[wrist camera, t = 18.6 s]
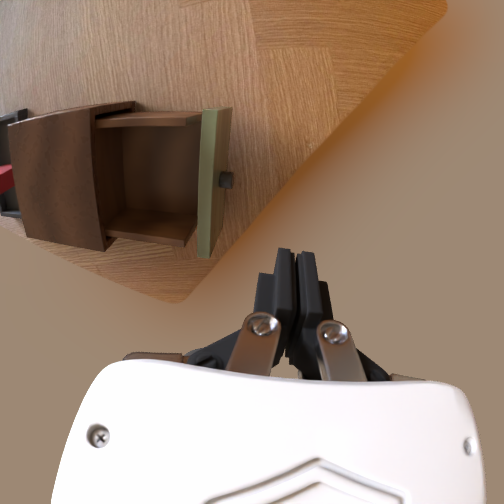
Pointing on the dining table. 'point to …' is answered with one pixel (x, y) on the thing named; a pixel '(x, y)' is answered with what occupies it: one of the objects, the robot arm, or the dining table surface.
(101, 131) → the drawer
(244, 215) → the dining table surface
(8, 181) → the red rectangular block
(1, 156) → the tray
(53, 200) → the cabinet
